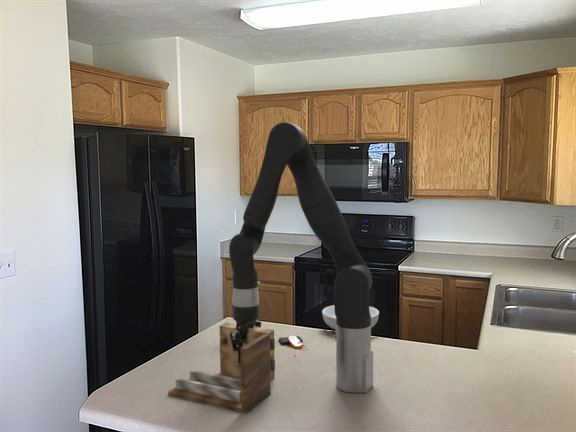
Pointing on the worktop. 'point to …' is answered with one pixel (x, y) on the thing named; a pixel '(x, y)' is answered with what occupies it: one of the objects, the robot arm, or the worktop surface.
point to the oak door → (230, 356)
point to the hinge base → (232, 381)
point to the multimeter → (292, 341)
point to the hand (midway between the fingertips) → (246, 361)
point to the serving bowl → (331, 317)
